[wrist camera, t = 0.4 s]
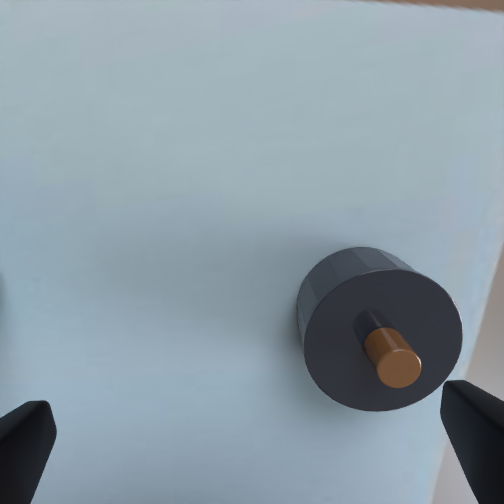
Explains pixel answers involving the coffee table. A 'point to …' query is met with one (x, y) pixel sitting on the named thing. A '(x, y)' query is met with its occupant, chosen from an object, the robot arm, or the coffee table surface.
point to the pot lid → (382, 338)
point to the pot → (339, 274)
